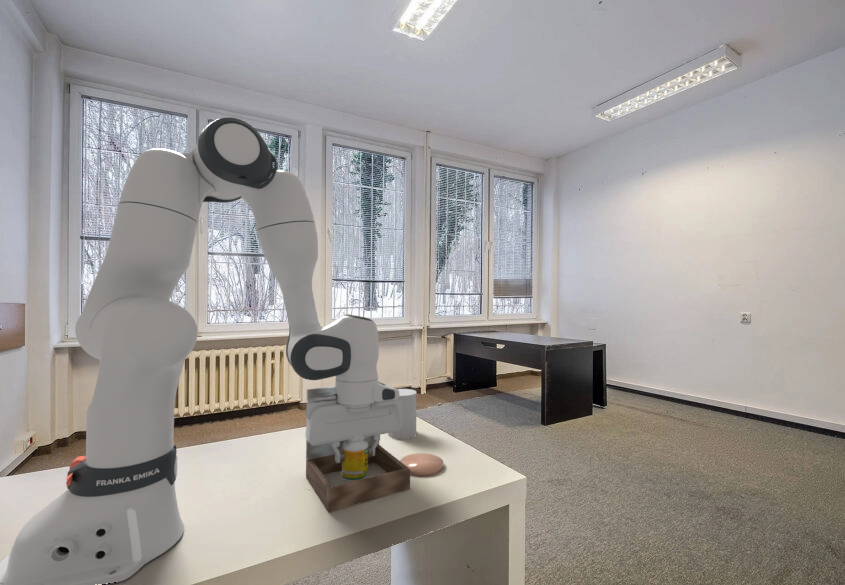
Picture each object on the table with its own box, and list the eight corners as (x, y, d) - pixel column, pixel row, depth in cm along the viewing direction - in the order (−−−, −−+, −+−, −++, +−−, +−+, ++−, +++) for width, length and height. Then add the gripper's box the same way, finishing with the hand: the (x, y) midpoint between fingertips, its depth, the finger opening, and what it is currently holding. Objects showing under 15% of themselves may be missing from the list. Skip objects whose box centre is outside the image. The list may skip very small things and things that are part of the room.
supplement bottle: (341, 473, 82) (342, 427, 82) (366, 471, 83) (367, 426, 84) (341, 484, 77) (342, 436, 77) (368, 482, 78) (369, 435, 78)
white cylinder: (421, 435, 109) (421, 393, 109) (397, 441, 104) (397, 397, 105) (406, 427, 116) (406, 387, 116) (382, 432, 111) (383, 391, 111)
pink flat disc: (413, 480, 82) (413, 475, 82) (392, 462, 91) (392, 458, 91) (451, 469, 87) (451, 465, 87) (428, 454, 96) (428, 450, 96)
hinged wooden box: (328, 512, 70) (329, 407, 70) (305, 477, 83) (306, 389, 84) (410, 489, 78) (410, 395, 79) (377, 460, 92) (378, 381, 92)
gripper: (310, 400, 73) (308, 474, 72) (406, 390, 83) (404, 455, 82) (302, 393, 78) (300, 462, 78) (393, 384, 88) (392, 445, 88)
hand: (355, 458), depth 80 cm, fingers closed on supplement bottle, 5 cm apart
